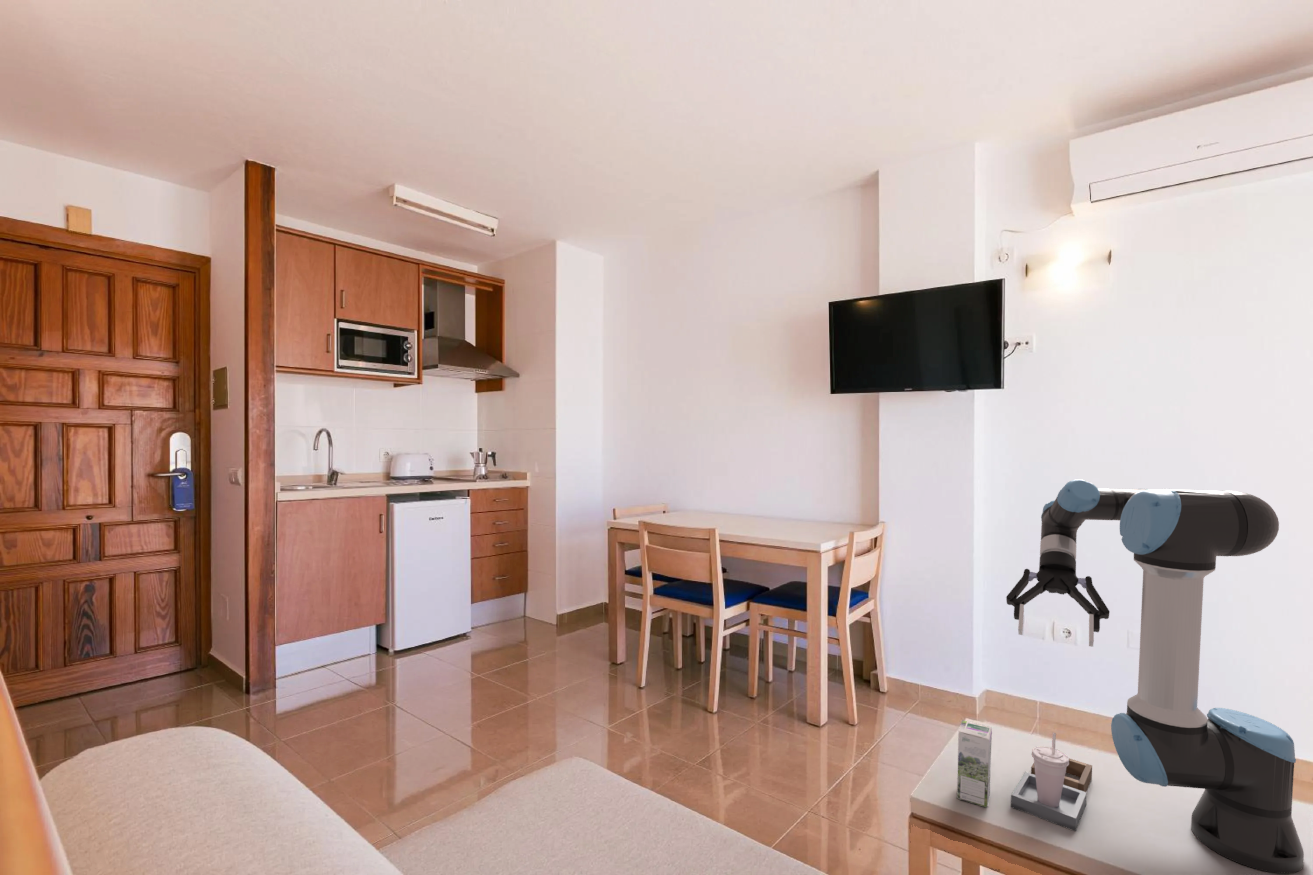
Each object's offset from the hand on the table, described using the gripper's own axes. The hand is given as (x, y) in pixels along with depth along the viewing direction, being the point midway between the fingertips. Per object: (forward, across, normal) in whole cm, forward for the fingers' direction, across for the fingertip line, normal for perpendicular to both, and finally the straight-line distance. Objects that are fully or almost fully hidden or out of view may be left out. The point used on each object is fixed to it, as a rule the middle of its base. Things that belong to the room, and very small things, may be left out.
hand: (1054, 637), depth 146 cm
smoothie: (+34, 0, -4) cm, 34 cm away
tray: (+34, 0, -5) cm, 35 cm away
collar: (+26, -2, -13) cm, 29 cm away
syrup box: (+38, +13, -2) cm, 40 cm away
